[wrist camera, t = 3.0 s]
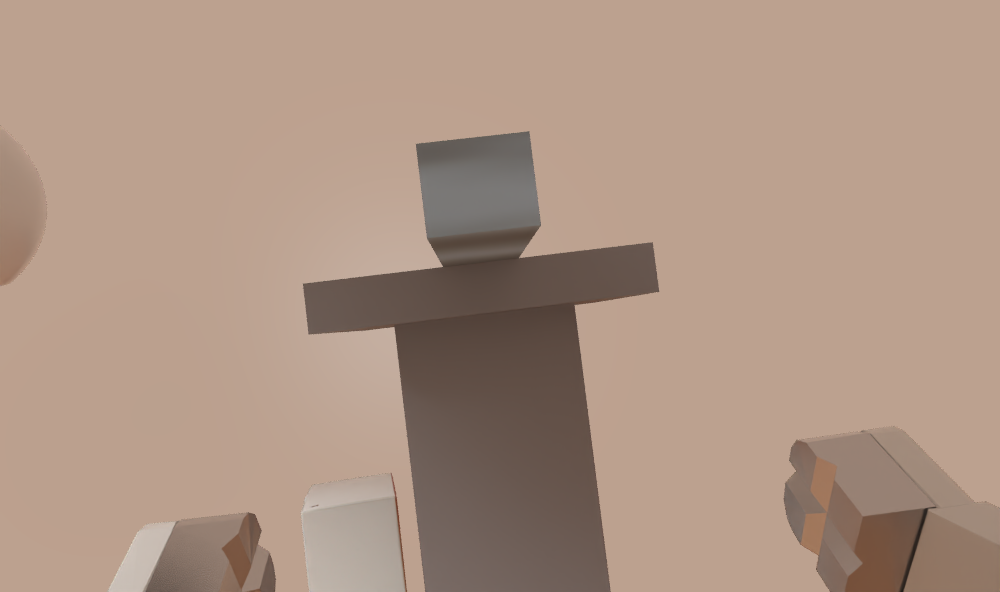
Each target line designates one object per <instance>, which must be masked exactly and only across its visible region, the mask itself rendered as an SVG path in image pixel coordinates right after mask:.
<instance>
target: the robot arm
mask: <svg viewBox="0 0 1000 592" xmlns="http://www.w3.org/2000/svg"><path fill="white" fill-rule="evenodd" d="M46 219H47V204H46V196H45V191H44V187H43V184H42V180H41V178H40V176H39V173H38V171H37V169H36V167H35V165H34V164H33V162H32V160H31V158H30V157H29V155H28V154H27V153H26V151H25V150H24V149H23V147H22V146H21V145H20V144H19V143H18V142H17V141H16V140H15V139H14V137H13V136H12V135H11V134H10V133H9V132H8V131H6V130H5V129H4V128H3V127H2V126H1V125H0V286H3V285H7V284H9V283H11V282H12V281H13V280H14V279H16V278H17V277H18V276H19V275H20V273H22V272H23V270H24V269H25V268H26V267H27V266H28V264H29V263H30V262H31V260H32V259H33V257H34V255H35V254H36V252H37V250H38V248H39V246H40V243H41V241H42V238H43V235H44V231H45V226H46ZM789 461H790V462H791V463H792V465H793V467H794V468H795V470H796V472H795V473H794V474H793V475H792V476H791V477H790V478H789V479H788V481H787V482H786V483H785V492H784V504H785V509H786V515H787V519H788V521H789V524H790V526H791V528H792V531H793V533H794V534H795V536H796V538H797V539H798V541H799V542H800V544H801V545H802V546H804V547H805V548H807V549H809V550H810V551H812V552H814V553H815V554H817V555H818V556H819V557H818V562H817V568H816V570H817V572H818V573H819V575H820V576H821V578H822V580H823V581H824V583H825V584H826V586H827V587H828V589H829V590H830V592H1000V508H999V507H997V506H995V505H992V504H990V503H988V502H977V503H975V502H974V501H973V500H972V499H971V498H970V497H969V496H968V495H967V494H966V493H965V492H964V491H963V490H962V489H961V488H960V487H959V486H958V485H957V484H956V483H955V482H954V481H953V480H952V479H951V478H950V477H949V476H948V475H947V474H946V473H945V472H944V471H943V470H942V469H941V468H940V467H939V466H938V465H937V464H936V463H935V462H934V461H933V460H932V459H931V458H930V457H929V456H928V455H927V454H926V452H924V451H923V449H922V448H920V446H919V445H917V444H916V442H915V441H914V440H913V439H912V438H911V437H909V435H908V434H907V433H906V432H904V431H903V430H902V429H900V428H897V427H895V426H891V427H883V428H877V429H870V430H863V431H860V432H850V433H843V434H836V435H829V436H822V437H816V438H808V439H801V440H796V441H795V443H794V444H793V446H792V447H791V452H790V458H789ZM260 534H261V528H260V526H259V523H258V521H257V518H256V516H255V514H252V513H239V514H230V515H221V516H212V517H202V518H193V519H184V520H181V521H173V522H163V523H154V524H153V523H152V524H146V525H145V526H144V527H143V528H142V529H141V530H139V531H138V533H137V534H136V536H135V538H134V540H133V542H132V545H131V546H130V548H129V550H128V552H127V554H126V556H125V558H124V560H123V562H122V564H121V566H120V568H119V570H118V572H117V574H116V575H115V578H114V579H113V581H112V584H111V585H110V587H109V589H108V591H107V592H275V580H276V579H275V572H274V566H273V562H272V559H271V556H270V553H269V551H267V550H266V549H264V548H263V547H261V546H259V545H258V541H259V538H260Z"/></svg>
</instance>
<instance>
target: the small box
mask: <svg viewBox="0 0 1000 592" xmlns="http://www.w3.org/2000/svg"><path fill="white" fill-rule="evenodd" d="M301 519H302V529H303V538H304V548H305V558H306V566H307V577H308V586H309V592H407V590H406V580H405V572H404V571H405V570H404V561H403V552H402V543H401V534H400V525H399V515H398V506H397V497H396V491H395V487H394V482H393V477H392V473H385V474H379V475H373V476H366V477H359V478H353V479H346V480H340V481H334V482H328V483H321V484H314V485H312V486H311V487H310V489H309V492H308V494H307V496H306V497H305V499H304V505H303V508H302V511H301Z"/></svg>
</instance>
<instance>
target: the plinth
mask: <svg viewBox="0 0 1000 592" xmlns="http://www.w3.org/2000/svg"><path fill="white" fill-rule="evenodd" d="M303 286H304V297H305V305H306V314H307V322H308V332H309V334H321V333H333V332H334V333H335V332H349V331H363V330H373V329H380V328H389V327H395V334H396V343H397V351H398V359H399V368H400V377H401V386H402V394H403V403H404V411H405V419H406V429H407V437H408V446H409V454H410V463H411V472H412V480H413V489H414V497H415V506H416V514H417V523H418V532H419V540H420V549H421V557H422V566H423V575H424V583H425V592H610V583H609V575H608V568H607V560H606V553H605V544H604V536H603V528H602V521H601V514H600V513H601V512H600V504H599V496H598V488H597V481H596V473H595V465H594V457H593V449H592V441H591V433H590V425H589V417H588V409H587V401H586V393H585V385H584V378H583V370H582V362H581V354H580V346H579V338H578V330H577V323H576V314H575V306H574V305H578V304H586V303H593V302H600V301H606V300H613V299H618V298H624V297H630V296H636V295H642V294H648V293H654V292H659V288H658V280H657V272H656V265H655V257H654V250H653V243H644V244H636V245H626V246H618V247H610V248H601V249H593V250H584V251H576V252H567V253H560V254H552V255H542V256H534V257H525V258H517V259H508V260H500V261H492V262H483V263H475V264H466V265H458V266H449V267H441V268H432V269H424V270H416V271H407V272H399V273H390V274H382V275H373V276H365V277H358V278H348V279H340V280H332V281H323V282H314V283H307V284H303Z"/></svg>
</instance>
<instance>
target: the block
mask: <svg viewBox="0 0 1000 592" xmlns="http://www.w3.org/2000/svg"><path fill="white" fill-rule="evenodd" d="M416 148H417V157H418V166H419V174H420V183H421V191H422V199H423V207H424V216H425V225H426V233H427V239H428V241H429V243H430V244H431V246H432V248H433V250H434V251H435V253H436V255H437V257H438V258H439V260H440V262H441V264H442V265H443V267H449V266H458V265H466V264H475V263H483V262H492V261H500V260H508V259H517V258H519V257H520V255H521V254H522V252H523V251H524V249H525V248H526V246H527V245H528V243H529V242H530V240H531V239H532V237H533V236H534V235H535V233H536V232H537V230H538V229H539V227H540V226H541V222H540V214H539V206H538V198H537V190H536V182H535V174H534V166H533V159H532V150H531V142H530V134H529V132H520V133H511V134H503V135H493V136H484V137H475V138H466V139H457V140H447V141H439V142H430V143H421V144H416Z"/></svg>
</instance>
